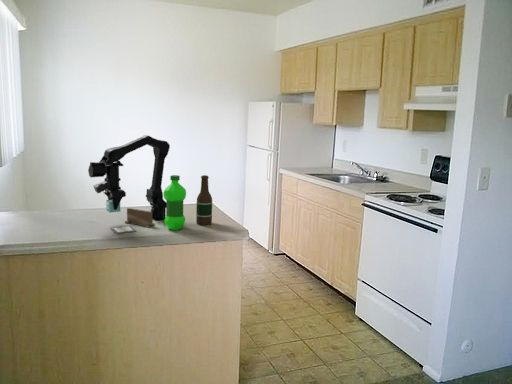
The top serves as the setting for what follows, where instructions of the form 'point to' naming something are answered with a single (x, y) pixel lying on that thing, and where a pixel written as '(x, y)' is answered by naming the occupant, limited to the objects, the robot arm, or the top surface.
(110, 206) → the letter cube
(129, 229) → the pad
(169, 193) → the plastic bottle
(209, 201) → the beer bottle
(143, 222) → the brown wooden block
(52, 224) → the top surface
